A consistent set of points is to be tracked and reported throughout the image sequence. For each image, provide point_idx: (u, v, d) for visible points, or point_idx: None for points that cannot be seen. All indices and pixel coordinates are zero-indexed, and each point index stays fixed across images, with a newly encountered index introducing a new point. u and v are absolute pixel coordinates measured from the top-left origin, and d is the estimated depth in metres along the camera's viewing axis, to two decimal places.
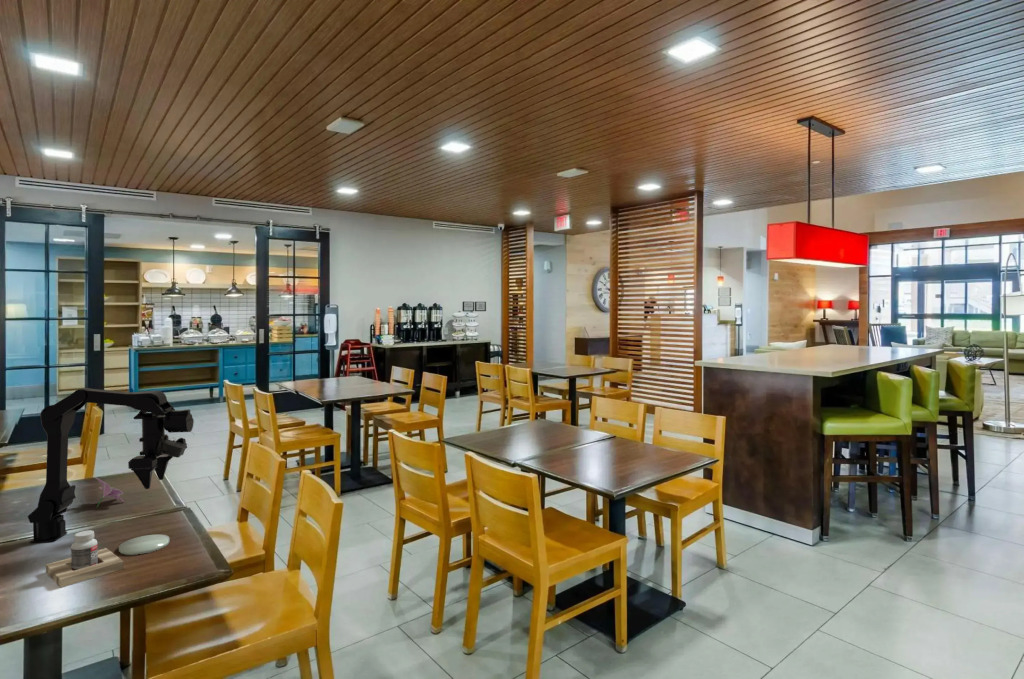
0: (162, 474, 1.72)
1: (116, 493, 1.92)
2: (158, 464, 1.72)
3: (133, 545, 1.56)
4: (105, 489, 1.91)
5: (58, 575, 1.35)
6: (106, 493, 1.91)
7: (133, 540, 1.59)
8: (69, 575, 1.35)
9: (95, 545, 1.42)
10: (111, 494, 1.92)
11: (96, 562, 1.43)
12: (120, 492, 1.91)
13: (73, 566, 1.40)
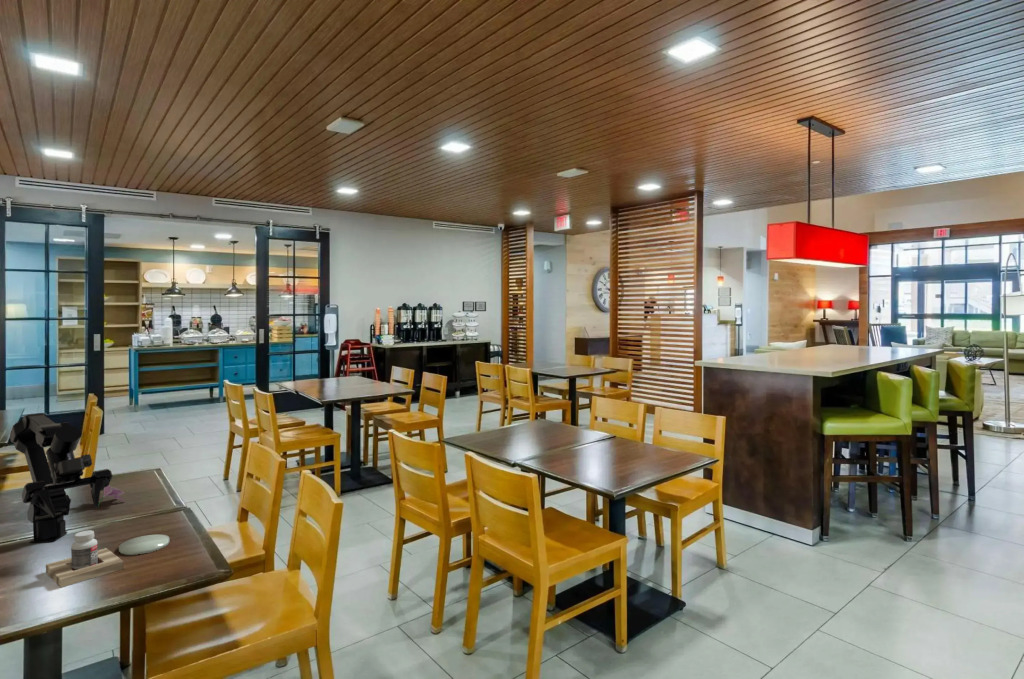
0: (95, 501, 1.51)
1: (116, 493, 1.92)
2: (93, 493, 1.53)
3: (133, 545, 1.56)
4: (105, 489, 1.91)
5: (58, 575, 1.35)
6: (106, 493, 1.91)
7: (133, 540, 1.59)
8: (69, 575, 1.35)
9: (95, 545, 1.42)
10: (111, 494, 1.92)
11: (96, 562, 1.43)
12: (120, 492, 1.92)
13: (73, 566, 1.40)
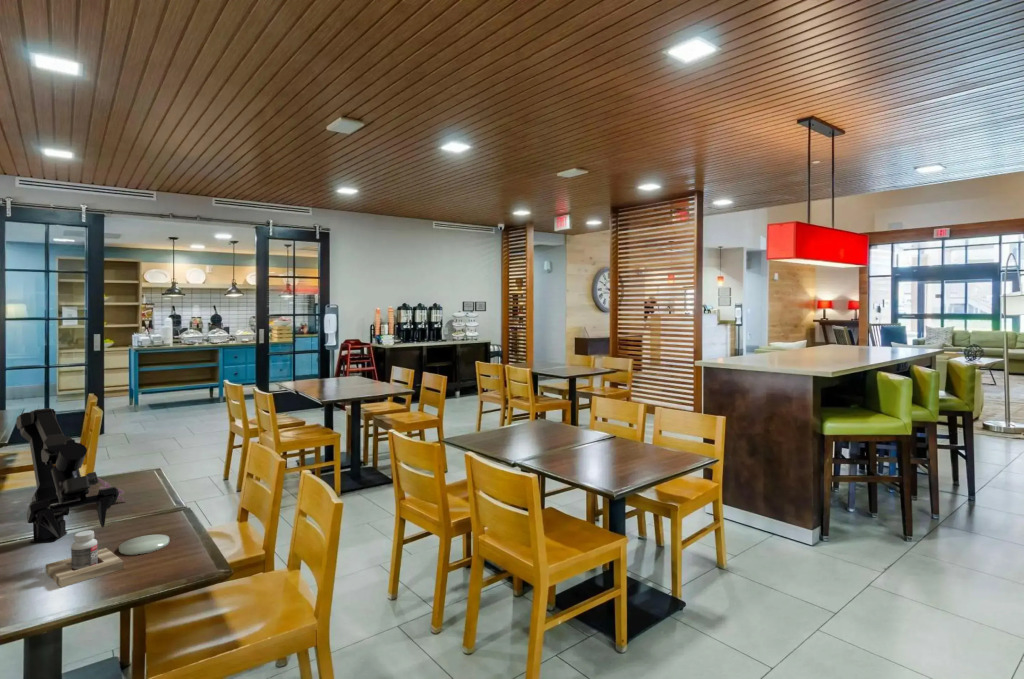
0: (101, 520, 1.47)
1: None
2: (99, 512, 1.49)
3: (133, 545, 1.56)
4: None
5: (58, 575, 1.35)
6: None
7: (133, 540, 1.59)
8: (69, 575, 1.35)
9: (95, 545, 1.42)
10: None
11: (96, 562, 1.43)
12: (121, 492, 1.92)
13: (73, 566, 1.40)
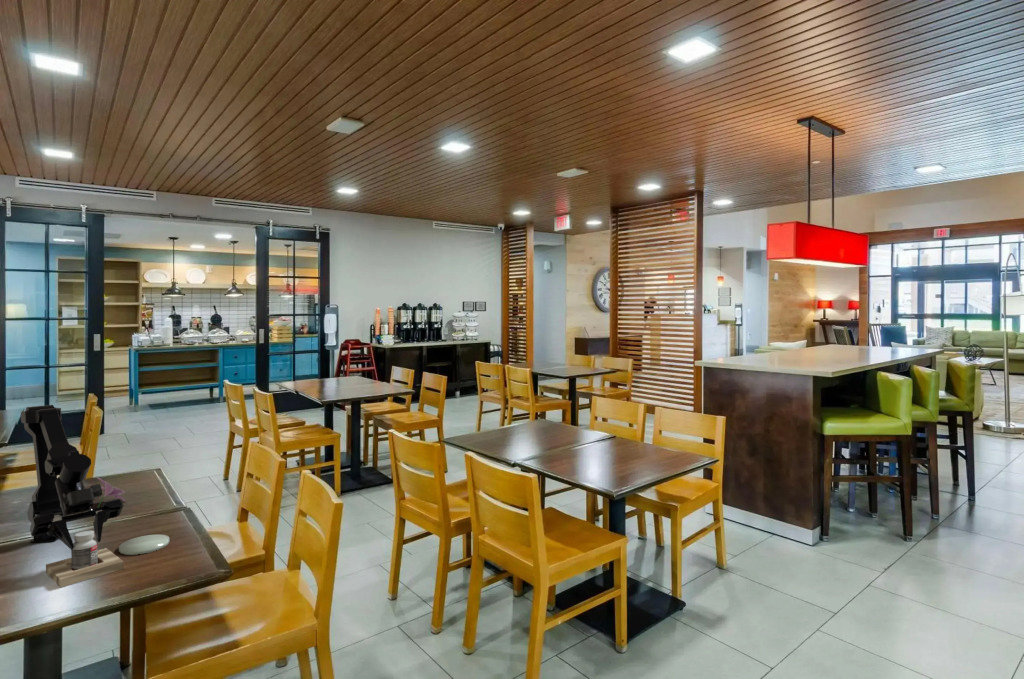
0: (97, 534, 1.44)
1: (117, 492, 1.93)
2: (95, 526, 1.46)
3: (133, 545, 1.56)
4: (106, 488, 1.91)
5: (58, 575, 1.35)
6: (107, 492, 1.91)
7: (133, 540, 1.59)
8: (69, 575, 1.35)
9: (95, 545, 1.42)
10: (112, 493, 1.92)
11: (96, 562, 1.43)
12: (121, 492, 1.92)
13: (73, 566, 1.40)
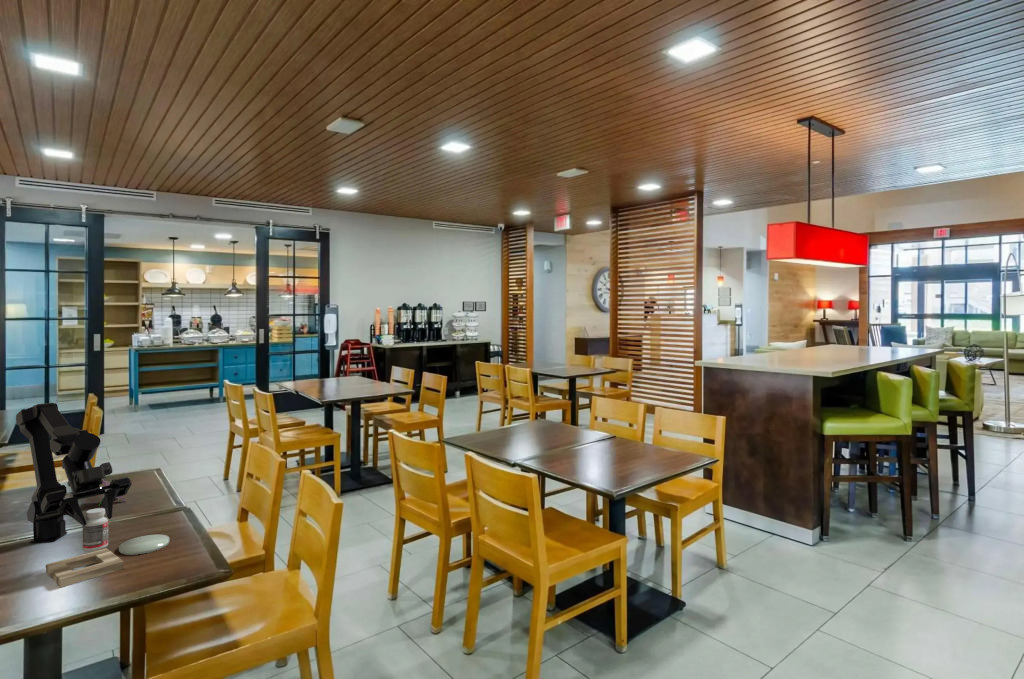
0: (108, 511, 1.46)
1: None
2: (105, 504, 1.48)
3: (133, 545, 1.56)
4: None
5: (58, 575, 1.35)
6: None
7: (133, 540, 1.59)
8: (69, 575, 1.35)
9: (106, 522, 1.45)
10: None
11: (107, 539, 1.45)
12: None
13: (85, 542, 1.42)
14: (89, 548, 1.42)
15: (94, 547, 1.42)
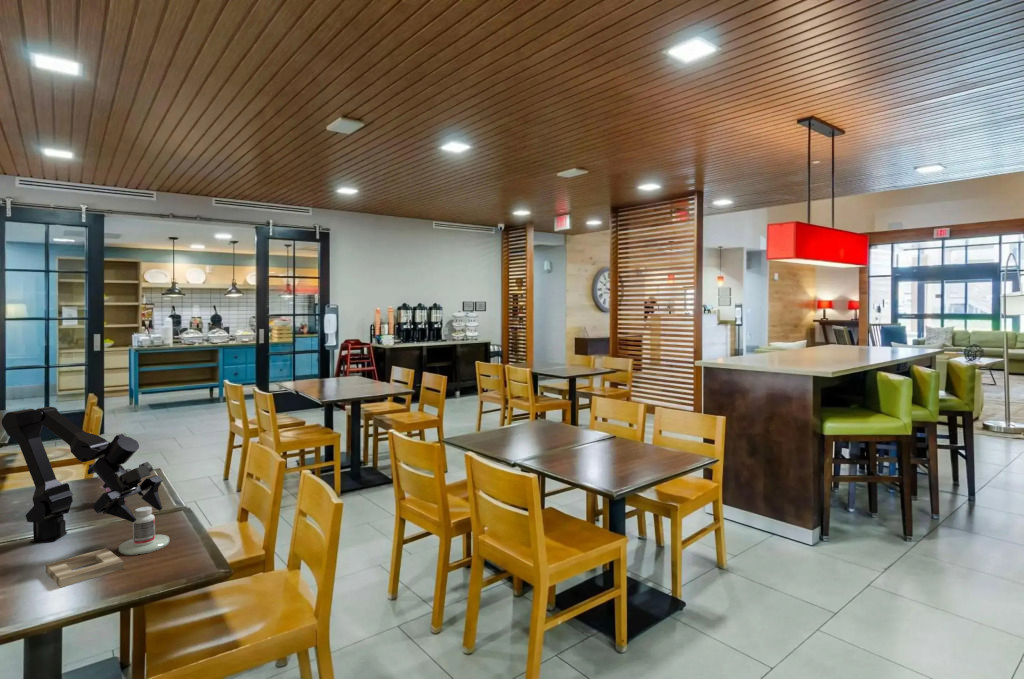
0: (157, 504, 1.61)
1: None
2: (149, 498, 1.62)
3: (133, 545, 1.56)
4: (107, 488, 1.92)
5: (58, 575, 1.35)
6: None
7: None
8: (69, 575, 1.35)
9: (154, 518, 1.59)
10: None
11: None
12: None
13: (138, 538, 1.55)
14: (143, 543, 1.55)
15: (148, 541, 1.56)
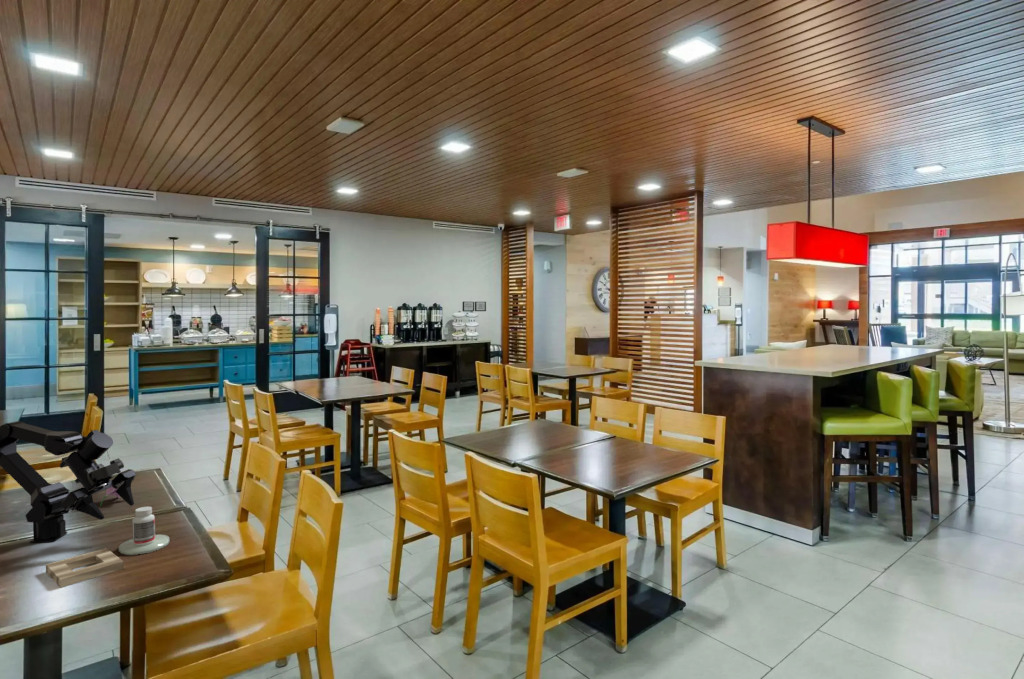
0: (129, 499, 1.63)
1: None
2: (122, 493, 1.64)
3: (133, 545, 1.56)
4: None
5: (58, 575, 1.35)
6: (109, 491, 1.93)
7: None
8: (69, 575, 1.35)
9: (154, 518, 1.59)
10: (114, 492, 1.93)
11: None
12: None
13: (138, 538, 1.55)
14: (143, 543, 1.55)
15: (148, 541, 1.56)
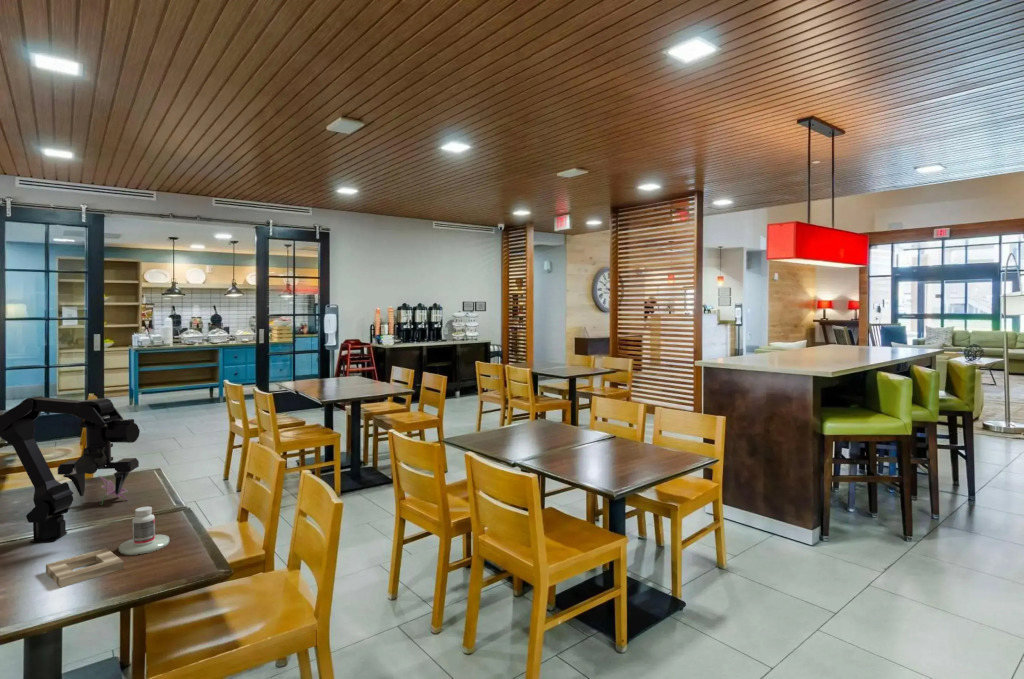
0: None
1: (120, 491, 1.94)
2: None
3: (133, 545, 1.56)
4: (109, 487, 1.93)
5: (58, 575, 1.35)
6: (110, 491, 1.93)
7: None
8: (69, 575, 1.35)
9: (154, 518, 1.59)
10: (115, 492, 1.94)
11: None
12: (124, 490, 1.94)
13: (138, 538, 1.55)
14: (143, 543, 1.55)
15: (148, 541, 1.56)
